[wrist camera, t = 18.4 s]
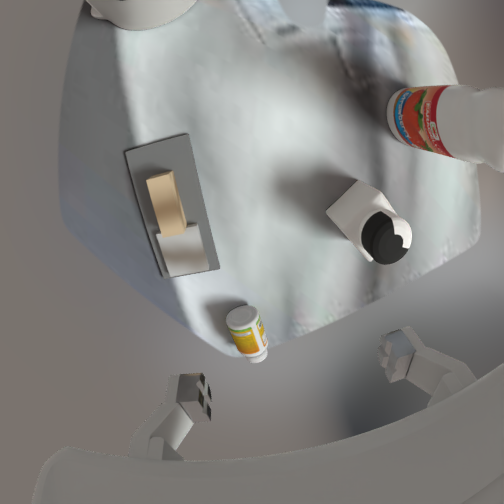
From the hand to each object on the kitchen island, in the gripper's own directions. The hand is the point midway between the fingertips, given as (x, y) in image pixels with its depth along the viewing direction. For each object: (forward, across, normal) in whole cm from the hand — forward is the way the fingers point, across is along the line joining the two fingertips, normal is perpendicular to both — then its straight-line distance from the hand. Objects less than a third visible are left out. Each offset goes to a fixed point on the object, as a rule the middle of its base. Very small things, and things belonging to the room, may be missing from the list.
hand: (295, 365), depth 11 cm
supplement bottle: (+26, +5, +17) cm, 32 cm away
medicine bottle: (+29, -15, +5) cm, 33 cm away
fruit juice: (+29, -26, -9) cm, 40 cm away
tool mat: (+29, +11, 0) cm, 31 cm away
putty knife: (+28, +11, +1) cm, 31 cm away
